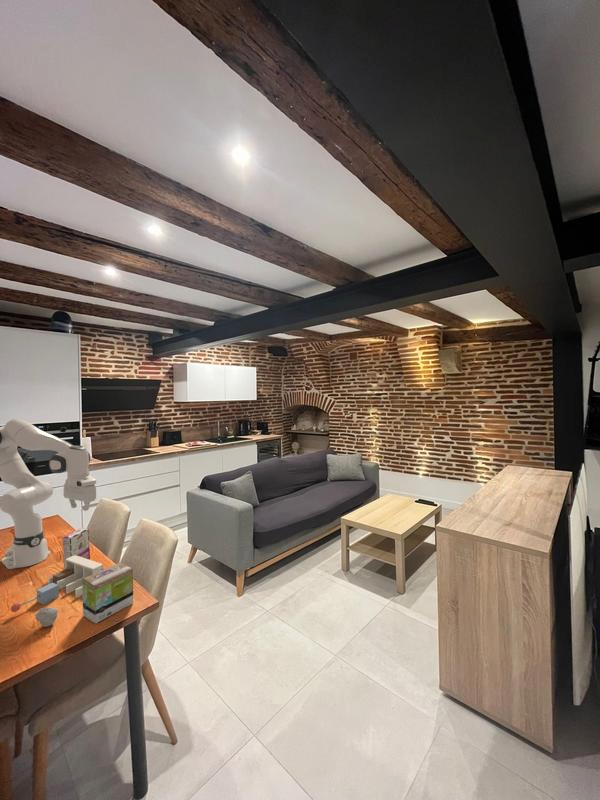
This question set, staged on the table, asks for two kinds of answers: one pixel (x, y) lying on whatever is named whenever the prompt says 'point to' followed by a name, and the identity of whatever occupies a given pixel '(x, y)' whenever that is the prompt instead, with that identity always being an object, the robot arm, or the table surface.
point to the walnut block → (61, 575)
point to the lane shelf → (77, 574)
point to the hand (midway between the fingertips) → (79, 508)
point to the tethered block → (41, 596)
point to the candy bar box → (76, 544)
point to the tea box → (107, 592)
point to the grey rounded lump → (46, 616)
